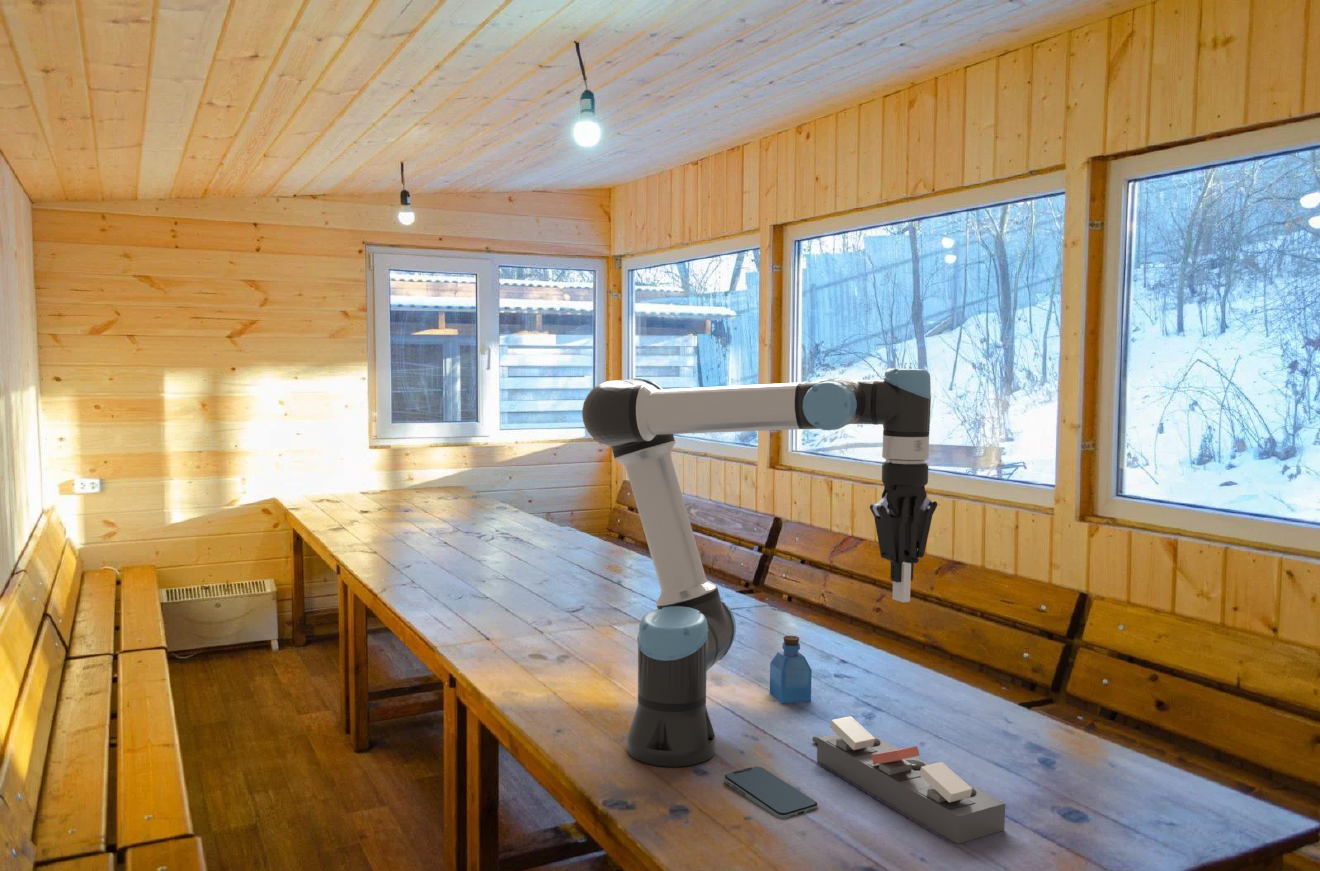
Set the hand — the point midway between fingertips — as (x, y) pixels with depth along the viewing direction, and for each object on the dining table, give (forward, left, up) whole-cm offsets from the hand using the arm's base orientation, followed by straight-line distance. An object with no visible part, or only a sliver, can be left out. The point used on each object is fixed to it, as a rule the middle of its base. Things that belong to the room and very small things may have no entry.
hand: (901, 600), depth 169 cm
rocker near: (-12, -23, -20) cm, 33 cm away
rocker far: (-12, -2, -20) cm, 24 cm away
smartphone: (-29, -4, -27) cm, 40 cm away
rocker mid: (-12, -13, -20) cm, 27 cm away
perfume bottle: (0, +31, -27) cm, 41 cm away
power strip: (-10, -9, -26) cm, 30 cm away
